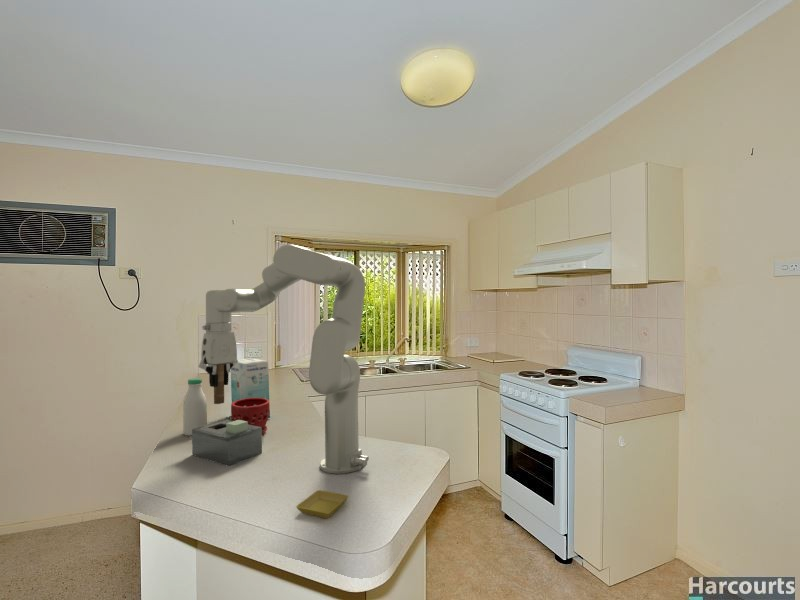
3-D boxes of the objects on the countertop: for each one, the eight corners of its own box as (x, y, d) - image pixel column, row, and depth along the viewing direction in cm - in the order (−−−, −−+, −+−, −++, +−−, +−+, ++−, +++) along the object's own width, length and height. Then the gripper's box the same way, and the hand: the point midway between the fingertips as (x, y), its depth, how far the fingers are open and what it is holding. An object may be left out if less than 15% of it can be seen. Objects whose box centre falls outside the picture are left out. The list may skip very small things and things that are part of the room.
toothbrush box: (230, 415, 169) (229, 359, 170) (254, 411, 176) (253, 357, 177) (245, 424, 156) (244, 363, 156) (270, 418, 163) (269, 360, 163)
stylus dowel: (226, 402, 126) (225, 358, 127) (217, 404, 124) (217, 360, 124) (220, 401, 128) (220, 358, 128) (211, 403, 125) (211, 359, 126)
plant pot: (223, 439, 138) (222, 405, 138) (246, 427, 151) (246, 396, 151) (255, 441, 135) (255, 406, 135) (276, 429, 147) (276, 397, 148)
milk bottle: (205, 434, 143) (205, 379, 144) (181, 437, 140) (181, 381, 141) (207, 428, 150) (207, 376, 151) (184, 431, 148) (184, 378, 148)
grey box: (261, 452, 124) (261, 427, 124) (227, 466, 114) (227, 438, 114) (226, 443, 133) (226, 419, 133) (192, 454, 123) (192, 429, 123)
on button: (247, 437, 122) (247, 421, 122) (235, 442, 118) (235, 425, 118) (238, 435, 124) (238, 419, 124) (226, 439, 120) (226, 423, 120)
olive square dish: (328, 523, 83) (328, 513, 83) (295, 515, 86) (295, 506, 86) (349, 504, 91) (349, 495, 91) (318, 498, 94) (318, 489, 94)
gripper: (201, 330, 117) (201, 391, 117) (247, 327, 131) (248, 382, 131) (187, 329, 121) (187, 389, 121) (233, 327, 135) (234, 380, 135)
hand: (219, 385), depth 126 cm, fingers closed on stylus dowel, 3 cm apart
